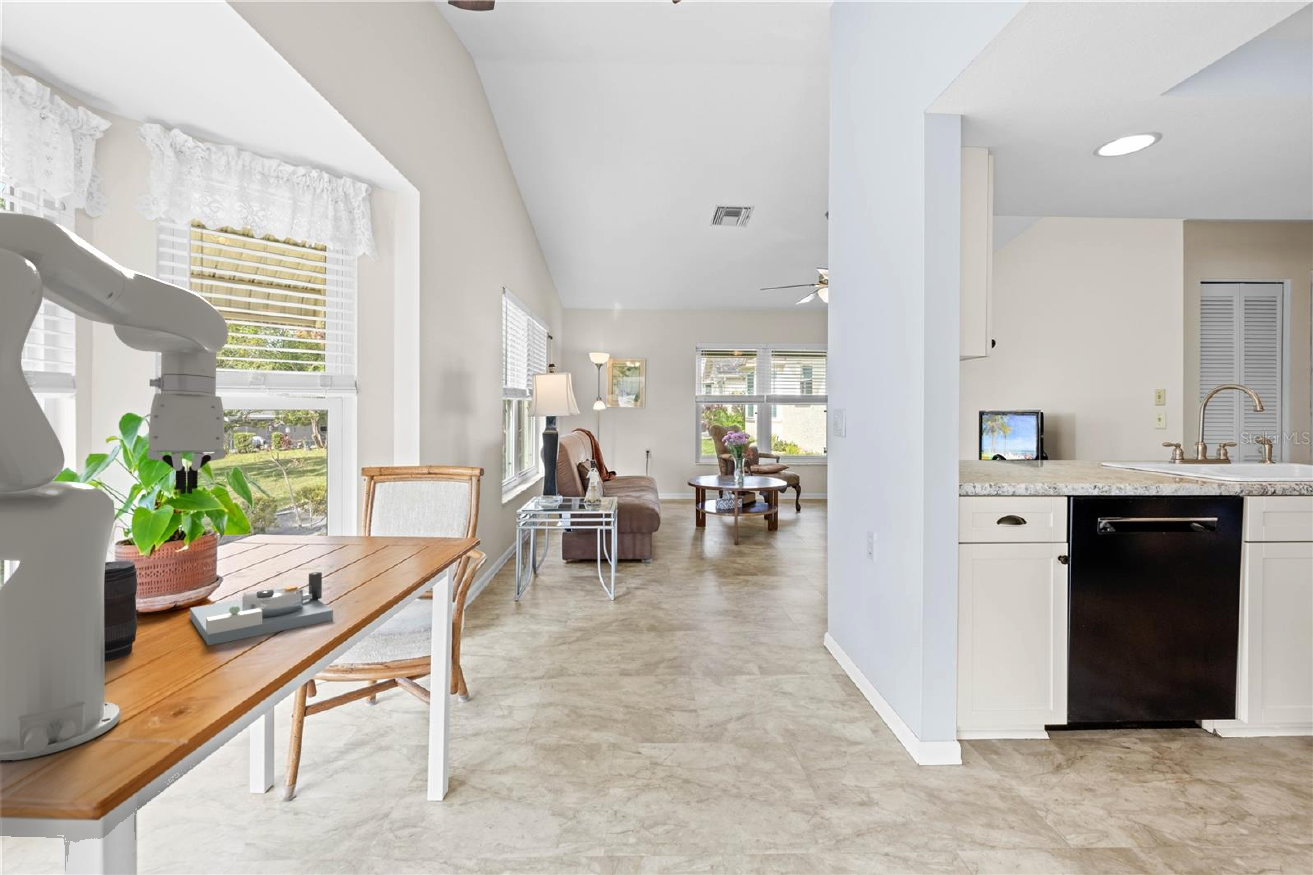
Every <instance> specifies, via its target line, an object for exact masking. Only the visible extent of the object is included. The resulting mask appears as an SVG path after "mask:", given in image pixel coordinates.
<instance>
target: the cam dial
mask: <svg viewBox="0 0 1313 875" xmlns="http://www.w3.org/2000/svg"><path fill="white" fill-rule="evenodd" d="M241 598H242V611H246V610H252V609H257V608H259V609H260V610H262V617H270V616H277V615H283V614H287V613H290V612H294V611H296V610H298V609H300V608H301V607H302V606H303V601H304V600H308V599H309V600H317V599H318V600H320V599H322V598H323V573H322V572H321V571H319V572H318V571H317V572H310V573H308V593H306V594H303V590H302V588H299V587H298V586H295V585H294V586H280V587H278V586H277V587H268V588H264V589H258V590H254V591H252V592H248V593H246V594H244V595H243V596H241Z"/></svg>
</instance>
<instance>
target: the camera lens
mask: <svg viewBox="0 0 1313 875" xmlns="http://www.w3.org/2000/svg"><path fill="white" fill-rule="evenodd" d="M137 570H138V569H137V568H136V563H135V562H133V561H130V560H129V561H127V560H116V561H114V560H113V561H106V562H105V574H104V662H106V661H111V660H116V659H120V658H122V657H125V656H127V655H129V654H130V653H131V652H132V651H133V644H134V643H135V642H136V639H137V638H136V637H137V636H136V635H137V632H138V622H137V621H138V620H137V610H136V593H137Z"/></svg>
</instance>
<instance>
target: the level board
mask: <svg viewBox="0 0 1313 875" xmlns="http://www.w3.org/2000/svg"><path fill="white" fill-rule="evenodd" d="M301 589H302V588H301ZM302 590H303V594H306V593H309V591H306V590H305V589H302ZM333 618H334V610H333V609H332V608H331V607H329V606H328V605H326V604H325V603H323V601H320V599H317V600H309V599H308V600H304V601H303V606H302V607H301V608H300V609H298V610H296V611H294V612H290V613H287V614H283V615H277V616H270V617H262V610H260V609H259V608H257V609H252V610H246V611H242V599H237V600H230V601H224V602H218V603H213V604H212V603H211V604H207V605H200V606H193V607H189V619H190V620H191V622H192V623H193V625H194V626H195V627H196V629H197V631H198V632H199V634H200V635H201V636H202V638H203V640H204V641H205V643H206V644H207V646H212V645H219V644H222V643H228V642H233V641H236V640H237V641H238V640H243V639H246V638H247V639H248V638H253V637H257V636H261V635H267V634H272V633H277V632H282V631H285V630H290V629H295V628H296V629H297V628H300V627H305V626H310V625H316V624H320V623H326V622H330V621H333V620H334V619H333Z"/></svg>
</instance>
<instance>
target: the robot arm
mask: <svg viewBox="0 0 1313 875" xmlns="http://www.w3.org/2000/svg"><path fill="white" fill-rule="evenodd" d="M43 298H44V299H45V300H48V301H50V302H51V303H53V304H55V305H58V306H59V307H61V308H63V309H65V310H68V311H69V312H70V313H72V314H75V315H76V316H78V317H81V318H83V319H86V320H89V321H91V322H97V323H102V324H107V325H111V326H113V327H112V328H113V330H114V332H115V335H116V336H117V338H118V339H119V341H120V342H122V343H123V344H124V345H126V346H127V347H130V349H134V350H136V351H140V352H154V353H155V352H156V353H161V358H160V359H161V360H160V362H161V363H160V365H161V366H160V377H158V378H156V377H155V378H149V387H152V388H153V387H154V388H156V389H159V390H160V393H154V395H153V399H152V403H151V406H150V407H151V408H150V414H149V416H150V417H149V422H148V423H149V426H148V450H147V452H146V458H147V459H149V460H154V461H161V462H164V463H166V464H167V465H168V466H170V467H171V468H172V469H174V470H175V482H174V483H175V484H174V485H175V488H174V489H175V490H180V491H179V492H180V495H185V494H188V495H192V494H193V490H194V489H195V490H197V489H198V482H199V480H198V477H199V476H198V475H199V470H200V469H201V468H203V466H205V465H206V464H208V463H209V462H213V461H219V460H222V459H223V460H224V459H225V458H226V452H225V448H224V447H225V419H224V418H225V417H224V416H225V415H224V406H223V401H222V397H221V396H217V394H216V392H217V353H218V352H219V351H220V350H221V349H223V348H224V347H225V345H226V343H227V341H228V337H229V330H228V325H227V322H226V320H225V318H224V317H223V315H222V314H221V312H220V311H219V310H218V309H217V308H216V307H215V306H214V305H212V304H211V303H210V302H209V301H207V300H206V299H205V298H203V297H202V296H201V295H199V294H197V293H195V292H193V291H191V290H188V289H186V288H184V287H181V286H177V285H175V284H172V283H170V282H167V281H163V280H160V279H157V278H154V277H152V276H149V275H147V274H143V273H141V272H138V271H134V270H131V269H127V268H125V267H123V266H121V265H119V264H118V263H116V261H114V260H112V259H111V258H109V257H108V256H107V255H105V254H104V253H102V252H101V251H99V250H97V249H96V248H94V246H92V245H90V244H89V243H87V242H86V241H85V240H83V239H82V238H81V237H78V236H77V235H76V234H75V233H73V232H72V231H70V230H68V229H67V228H65V227H63V226H62V225H60V224H59V223H56V222H54V221H52V220H49V219H46V218H44V217H40V216H38V215H37V216H36V215H32V214H24V213H23V214H22V213H11V212H0V561H9V562H11V561H13V562H14V561H17V562H18V561H19V564H18V567H16V569H15V570H14V571H13V573H12V574H11V575H10V576H9V577H8V579H7V580H6V581H5V582H4V584H3V585H2V587H1V588H0V760H12V761H19V760H27V759H32V758H37V757H41V756H46V755H50V754H53V753H57V752H60V751H64V750H67V749H70V748H73V747H76V746H78V745H81V744H84V743H85V742H88V741H91V740H93V739H95V738H97V737H99V736H101V735H103V734H105V733H107V732H108V731H109V730H111V729H112V728H113V727H115V725H117V724H118V723H119V721H120V719H121V716H122V715H121V708H120V706H118V705H117V704H115V703H111V702H107V701H106V702H105V661H104V574H105V562H107V561H106V560H107V555H108V554H107V553H108V551H109V550H108V548H109V544H110V539H111V536H112V533H113V527H114V523H115V517H116V516H115V513H116V511H115V506H114V502H113V501H112V499H111V497H110V496H109V495H108V494H107V493H106V492H105V491H104V490H102V489H100V488H98V487H96V486H93V485H91V484H87V483H80V482H74V481H62V480H60V481H58V480H57V481H55V480H56V479H57V477H58V476H59V475H60V474H61V473H62V471H63V470H64V465H65V453H64V450H63V449H64V448H63V446H62V445H61V442H60V440H59V437H58V436H57V434H56V432H55V430H54V429H53V427H52V424H51V423H50V421H49V420H48V417H47V416H46V414H45V412H44V410H43V409H42V406H41V405H40V404H39V401H38V400H37V398H36V396H35V395H34V393H33V391H32V389H31V387H30V385H29V383H28V380H27V378H26V376H25V374H24V370H23V366H22V358H23V351H24V347H25V343H26V341H27V338H28V336H29V333H30V331H31V328H32V325H33V323H34V321H35V319H36V317H37V315H38V312H39V311H40V308H41V305H42V301H43ZM166 453H170V454H166ZM181 453H193V457H192V462H191V465H190V466H188V470H186V467H185V466H184V465H183V460H182V459H183V458H182V454H181ZM204 453H208V454H204ZM203 454H204V455H203Z"/></svg>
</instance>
